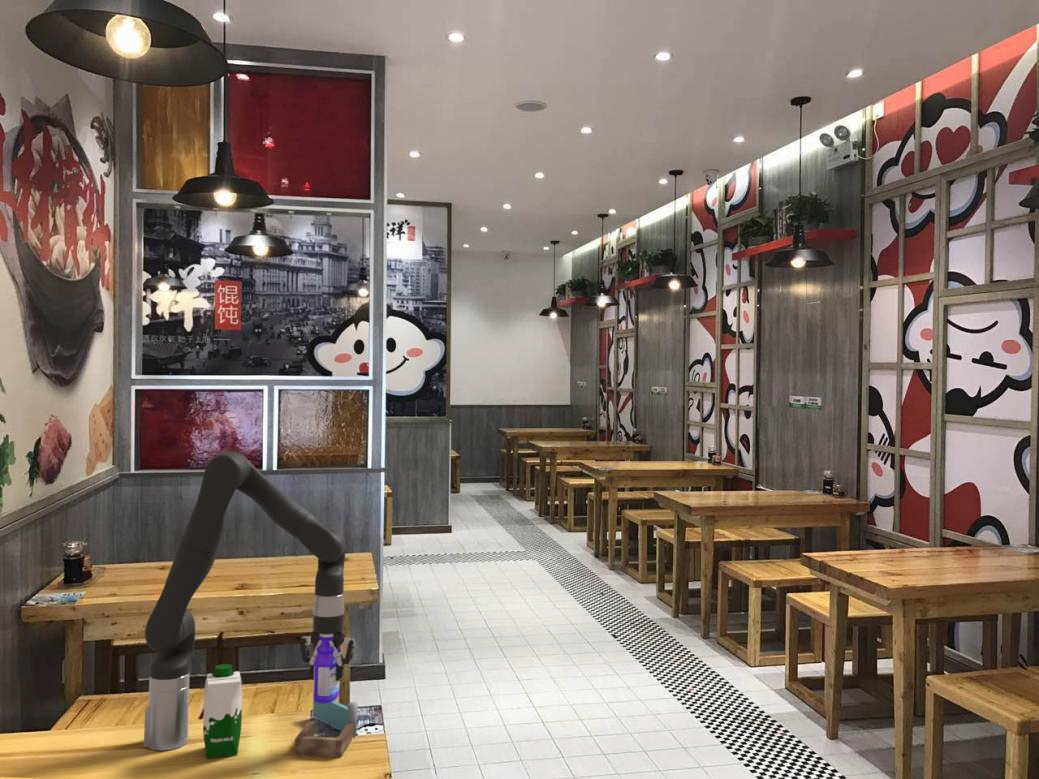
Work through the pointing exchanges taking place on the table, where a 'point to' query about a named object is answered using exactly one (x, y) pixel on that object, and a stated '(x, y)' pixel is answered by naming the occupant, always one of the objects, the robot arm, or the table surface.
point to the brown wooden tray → (322, 742)
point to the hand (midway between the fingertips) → (326, 679)
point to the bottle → (325, 672)
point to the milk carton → (222, 712)
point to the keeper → (336, 714)
